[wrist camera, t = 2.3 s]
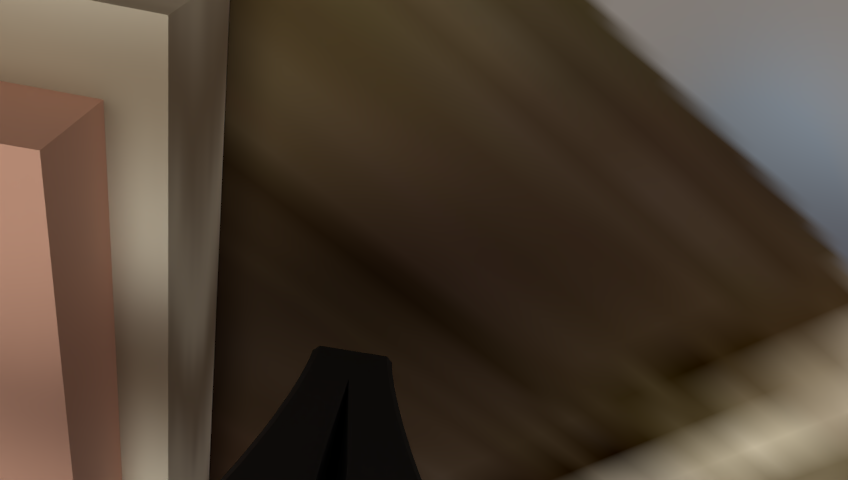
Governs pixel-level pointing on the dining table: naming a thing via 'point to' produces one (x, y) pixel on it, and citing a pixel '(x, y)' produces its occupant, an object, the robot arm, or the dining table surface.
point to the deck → (148, 197)
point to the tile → (56, 290)
